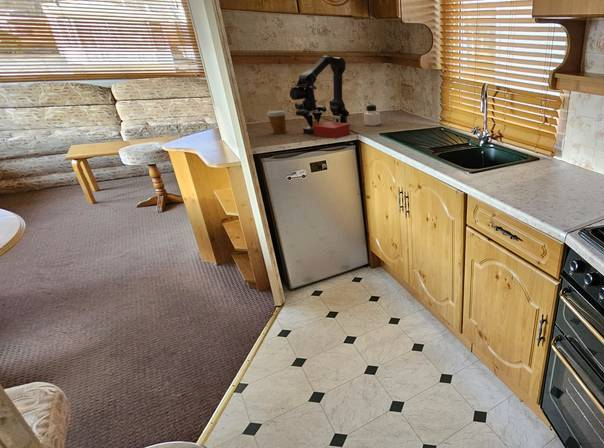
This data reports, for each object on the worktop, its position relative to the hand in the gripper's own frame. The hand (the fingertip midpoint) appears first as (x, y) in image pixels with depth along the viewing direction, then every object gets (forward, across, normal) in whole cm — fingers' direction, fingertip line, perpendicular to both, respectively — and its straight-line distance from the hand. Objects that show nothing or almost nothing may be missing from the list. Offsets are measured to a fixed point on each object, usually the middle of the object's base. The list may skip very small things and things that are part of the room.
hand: (314, 126), depth 232 cm
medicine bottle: (+4, -33, +17) cm, 37 cm away
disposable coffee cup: (+4, +9, -17) cm, 20 cm away
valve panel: (+4, 0, 0) cm, 4 cm away
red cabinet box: (+4, +1, +13) cm, 14 cm away
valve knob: (0, 0, 0) cm, 0 cm away
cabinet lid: (-1, +1, +13) cm, 13 cm away
